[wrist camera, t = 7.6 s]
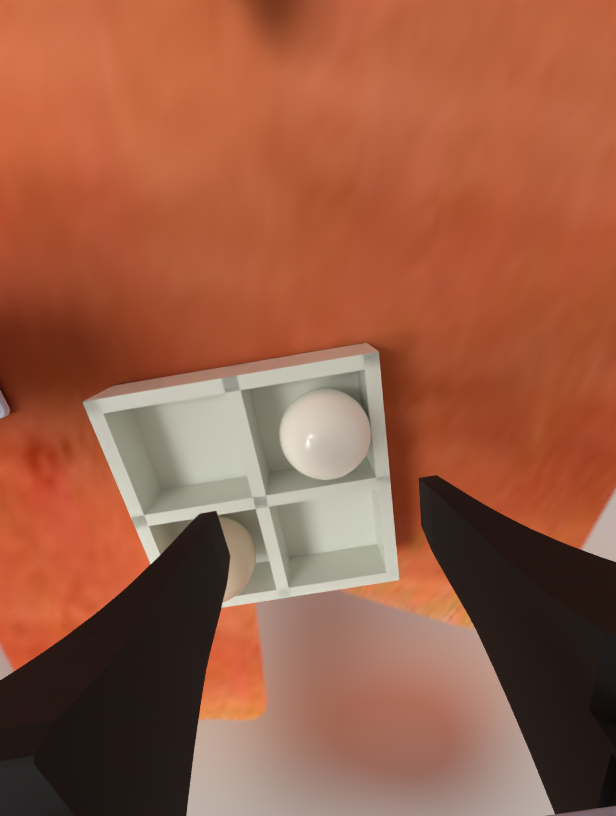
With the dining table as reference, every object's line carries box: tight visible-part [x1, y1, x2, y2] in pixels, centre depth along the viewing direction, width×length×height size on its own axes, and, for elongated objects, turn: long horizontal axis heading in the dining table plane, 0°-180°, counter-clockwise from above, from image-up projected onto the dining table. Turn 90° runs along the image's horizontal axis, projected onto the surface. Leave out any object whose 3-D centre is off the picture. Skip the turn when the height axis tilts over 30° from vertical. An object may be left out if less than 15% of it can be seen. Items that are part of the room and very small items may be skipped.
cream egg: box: [279, 388, 371, 480], centre depth 18 cm, size 5×5×5 cm
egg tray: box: [82, 343, 399, 608], centre depth 21 cm, size 15×15×3 cm
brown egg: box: [219, 517, 256, 602], centre depth 21 cm, size 5×5×5 cm
